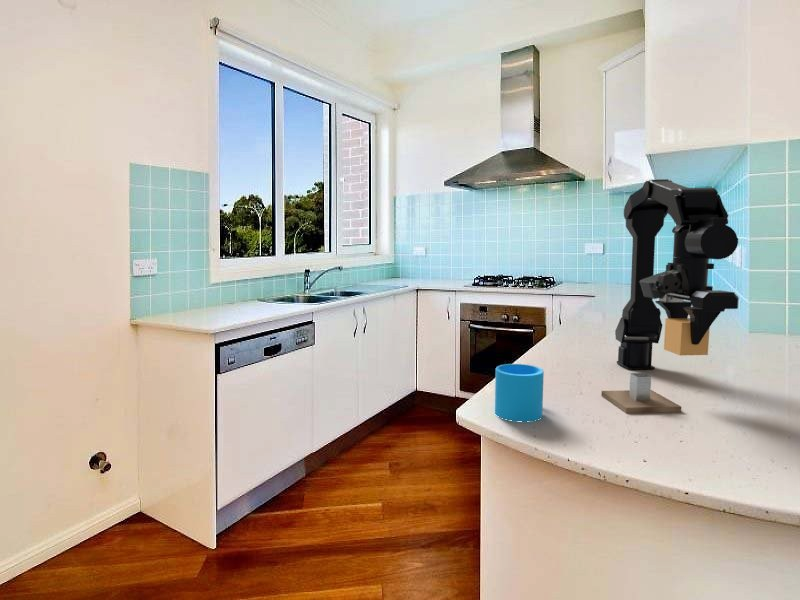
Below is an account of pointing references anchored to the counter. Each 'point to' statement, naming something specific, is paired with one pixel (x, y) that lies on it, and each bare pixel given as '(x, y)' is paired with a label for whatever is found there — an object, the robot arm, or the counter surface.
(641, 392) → the grey concrete cube
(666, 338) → the tan wooden cube
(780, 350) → the counter surface
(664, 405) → the walnut base
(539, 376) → the mug
